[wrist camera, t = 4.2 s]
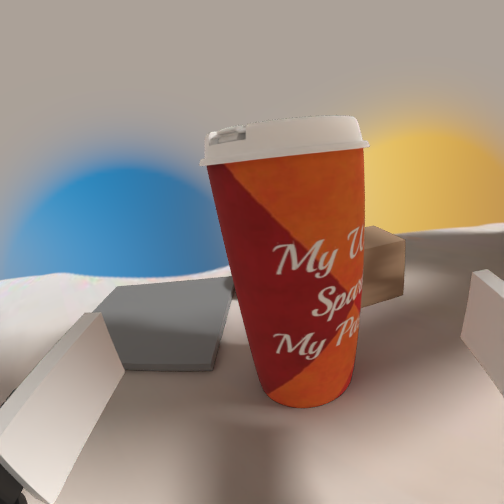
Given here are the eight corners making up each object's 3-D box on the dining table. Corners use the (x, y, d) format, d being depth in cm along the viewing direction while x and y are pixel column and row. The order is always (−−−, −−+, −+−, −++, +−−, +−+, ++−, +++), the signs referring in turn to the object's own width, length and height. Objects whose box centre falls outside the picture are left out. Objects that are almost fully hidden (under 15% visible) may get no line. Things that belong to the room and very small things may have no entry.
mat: (236, 281, 33) (235, 275, 32) (212, 370, 19) (210, 363, 19) (118, 291, 34) (117, 286, 34) (53, 363, 21) (50, 357, 21)
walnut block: (374, 275, 29) (373, 225, 28) (402, 295, 25) (405, 239, 23) (328, 286, 29) (325, 234, 27) (352, 311, 24) (352, 252, 22)
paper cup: (319, 445, 13) (296, 110, 8) (217, 384, 18) (162, 143, 14) (391, 357, 18) (392, 117, 13) (297, 326, 23) (274, 129, 19)
